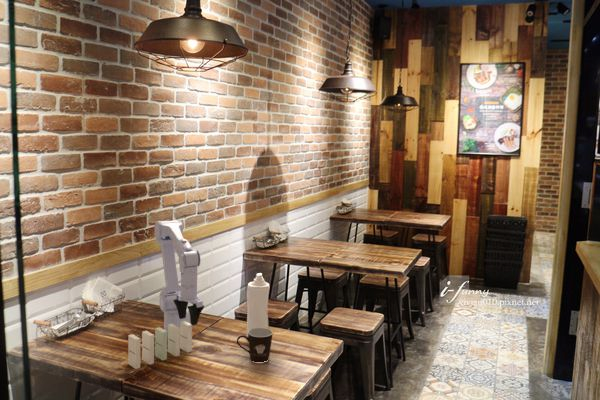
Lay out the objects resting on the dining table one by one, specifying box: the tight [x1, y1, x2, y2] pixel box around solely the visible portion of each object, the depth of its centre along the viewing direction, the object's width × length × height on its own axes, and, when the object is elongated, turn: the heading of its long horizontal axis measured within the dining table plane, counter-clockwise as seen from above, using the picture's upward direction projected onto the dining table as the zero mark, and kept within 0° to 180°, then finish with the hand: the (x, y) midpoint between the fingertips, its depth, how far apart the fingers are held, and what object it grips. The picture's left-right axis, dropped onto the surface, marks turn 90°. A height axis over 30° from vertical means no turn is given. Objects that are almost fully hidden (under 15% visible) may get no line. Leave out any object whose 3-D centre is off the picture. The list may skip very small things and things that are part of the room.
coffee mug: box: [236, 328, 274, 362], centre depth 179 cm, size 12×9×10 cm
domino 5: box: [180, 321, 193, 353], centre depth 184 cm, size 2×5×10 cm, turn 46°
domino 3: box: [154, 326, 168, 361], centre depth 177 cm, size 2×5×10 cm, turn 46°
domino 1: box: [127, 333, 141, 370], centre depth 170 cm, size 2×5×10 cm, turn 46°
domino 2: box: [141, 330, 155, 365], centre depth 174 cm, size 2×5×10 cm, turn 46°
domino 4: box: [167, 324, 181, 357], centre depth 181 cm, size 2×5×10 cm, turn 46°
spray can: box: [246, 272, 271, 337], centre depth 197 cm, size 12×11×25 cm
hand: (188, 321), depth 184 cm, fingers open, 7 cm apart
